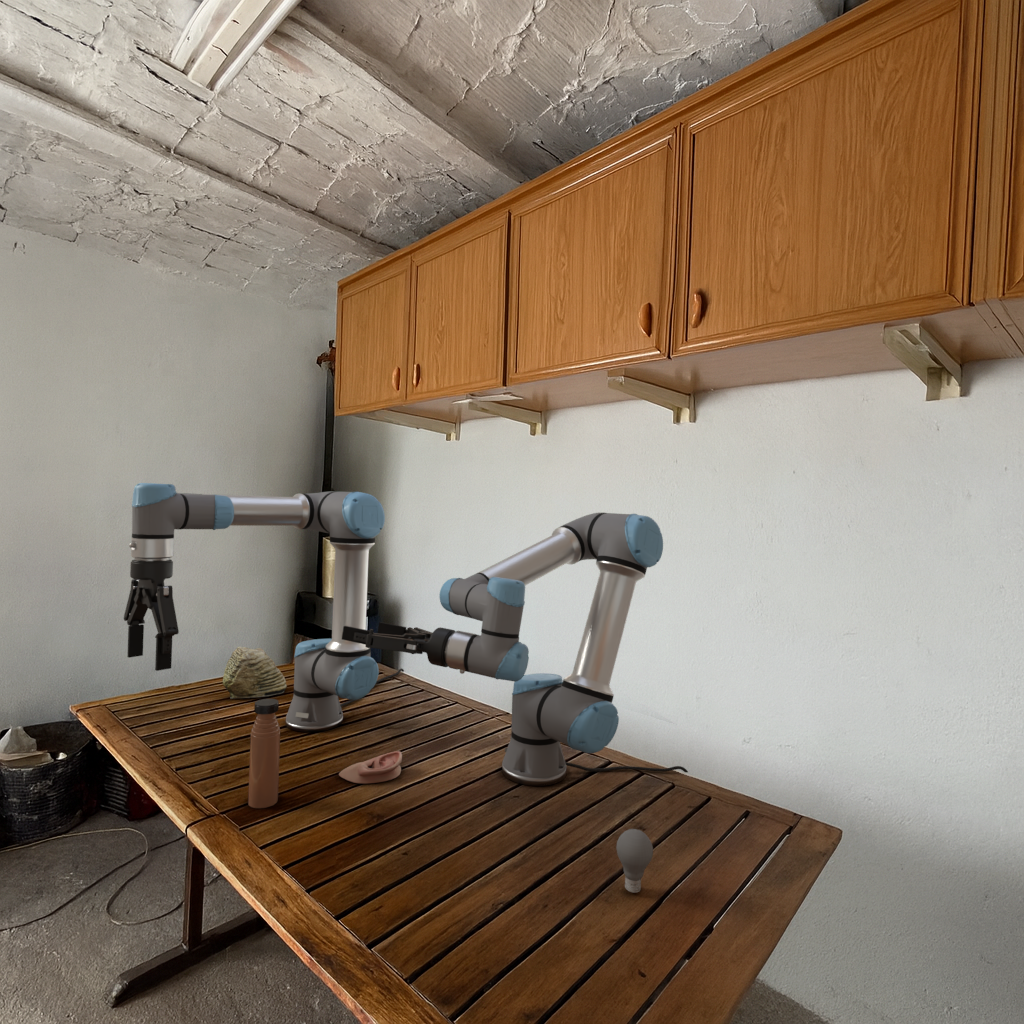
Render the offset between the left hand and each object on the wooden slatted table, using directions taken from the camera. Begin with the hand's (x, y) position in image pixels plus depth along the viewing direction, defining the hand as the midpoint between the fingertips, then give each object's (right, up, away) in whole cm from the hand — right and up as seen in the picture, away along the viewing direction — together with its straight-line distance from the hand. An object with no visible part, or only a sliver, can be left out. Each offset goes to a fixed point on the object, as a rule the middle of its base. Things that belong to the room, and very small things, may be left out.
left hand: (148, 662), depth 129 cm
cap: (+24, -9, +1) cm, 25 cm away
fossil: (-6, -27, +69) cm, 74 cm away
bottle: (+23, -29, +1) cm, 37 cm away
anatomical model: (+42, -30, +16) cm, 54 cm away
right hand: (+42, +6, +5) cm, 43 cm away
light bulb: (+94, -33, -24) cm, 103 cm away
